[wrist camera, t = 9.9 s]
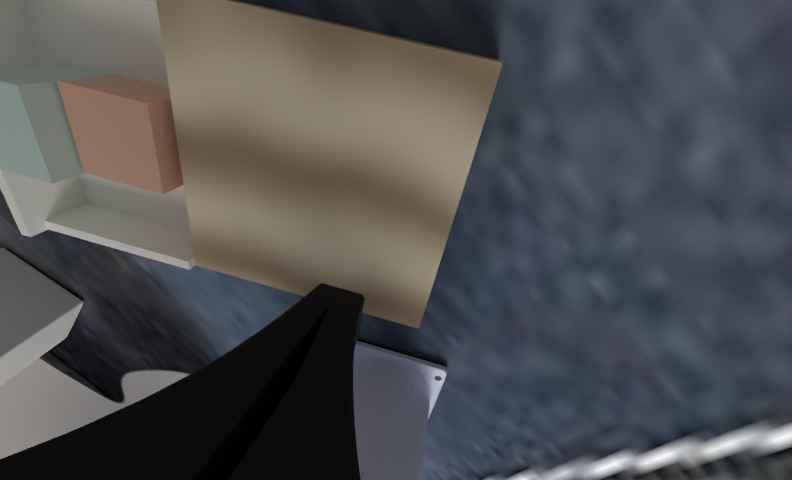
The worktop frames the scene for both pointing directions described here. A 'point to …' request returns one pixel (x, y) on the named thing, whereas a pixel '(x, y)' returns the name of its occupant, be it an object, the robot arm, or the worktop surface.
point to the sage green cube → (38, 122)
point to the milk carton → (30, 314)
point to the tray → (86, 194)
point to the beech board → (321, 149)
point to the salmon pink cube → (124, 130)
